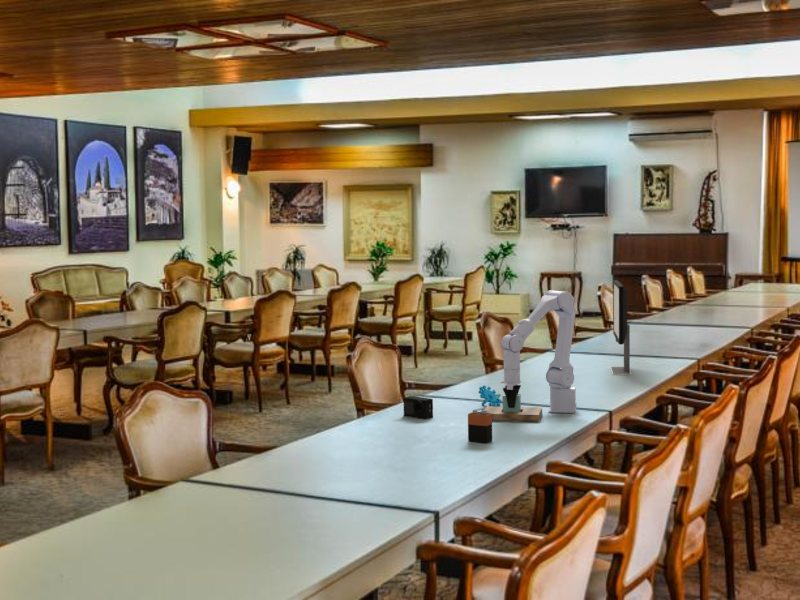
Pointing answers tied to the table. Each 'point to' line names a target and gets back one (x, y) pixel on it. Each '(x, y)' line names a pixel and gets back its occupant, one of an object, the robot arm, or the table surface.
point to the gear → (489, 396)
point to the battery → (480, 426)
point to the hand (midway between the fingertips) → (512, 406)
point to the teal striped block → (517, 404)
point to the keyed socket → (515, 414)
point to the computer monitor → (621, 326)
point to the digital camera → (418, 407)
